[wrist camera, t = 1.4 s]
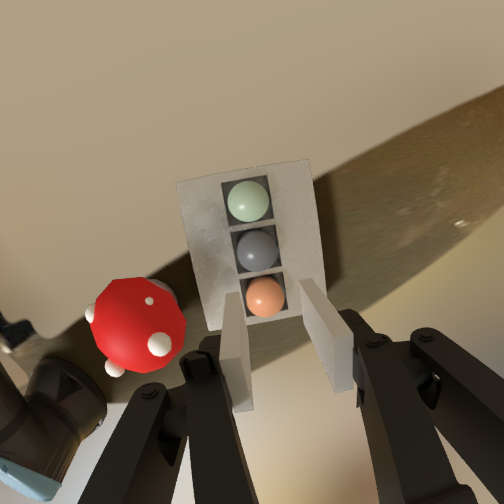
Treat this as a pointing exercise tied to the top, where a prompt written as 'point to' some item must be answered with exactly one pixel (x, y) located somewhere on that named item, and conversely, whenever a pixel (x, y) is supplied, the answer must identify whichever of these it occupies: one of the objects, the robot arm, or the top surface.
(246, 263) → the button charcoal
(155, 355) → the mushroom
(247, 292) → the button terracotta
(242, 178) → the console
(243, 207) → the button sage
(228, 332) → the robot arm
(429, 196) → the top surface
